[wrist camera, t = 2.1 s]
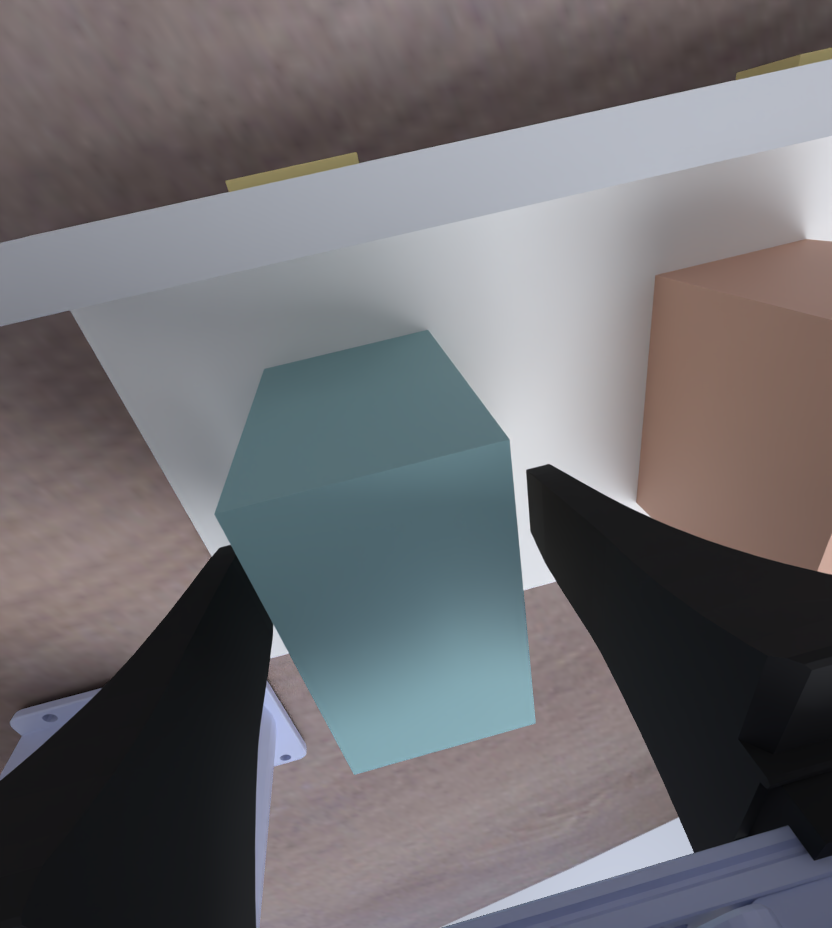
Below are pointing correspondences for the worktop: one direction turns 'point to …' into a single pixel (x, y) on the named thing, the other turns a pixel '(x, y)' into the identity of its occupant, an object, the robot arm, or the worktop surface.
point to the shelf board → (444, 273)
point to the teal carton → (386, 547)
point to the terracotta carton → (744, 404)
